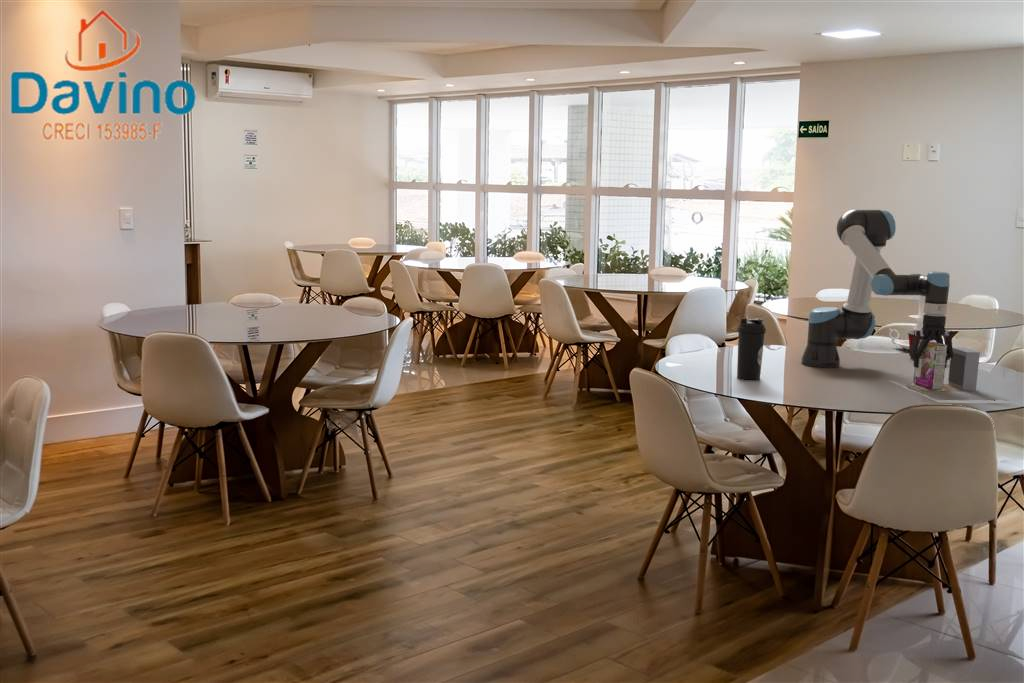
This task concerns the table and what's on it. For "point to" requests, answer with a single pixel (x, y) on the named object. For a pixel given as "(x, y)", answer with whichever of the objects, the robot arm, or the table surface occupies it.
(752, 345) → the water bottle
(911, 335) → the plastic cup
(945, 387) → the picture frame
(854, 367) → the table surface
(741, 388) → the table surface
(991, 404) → the table surface
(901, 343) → the candlestick
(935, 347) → the candy bar box
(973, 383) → the grey upright block
